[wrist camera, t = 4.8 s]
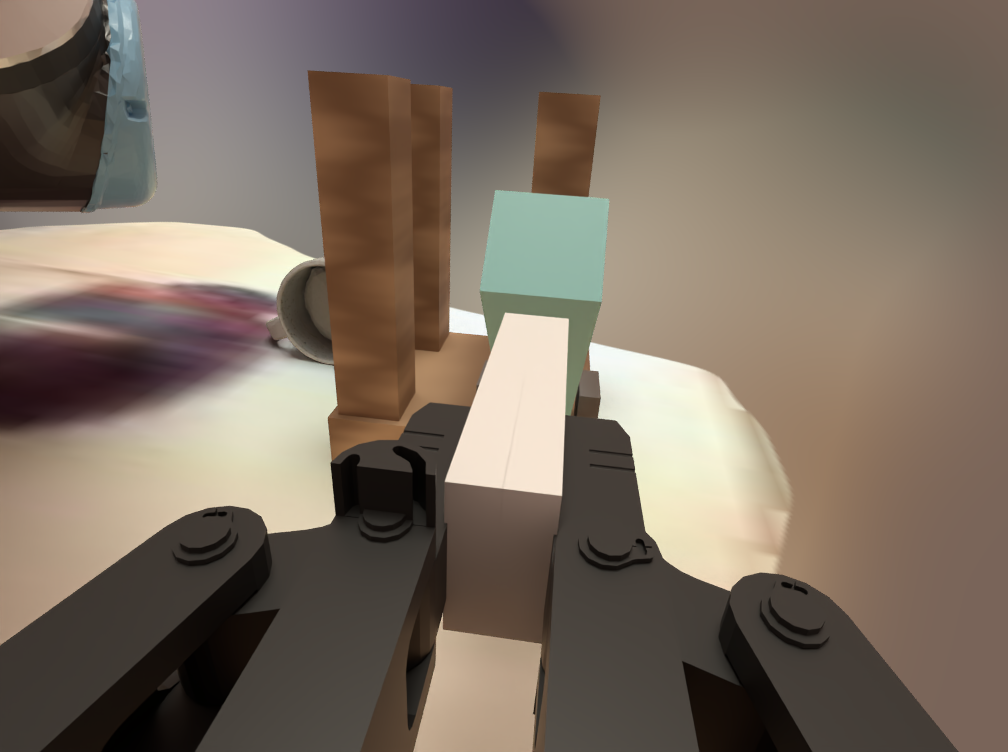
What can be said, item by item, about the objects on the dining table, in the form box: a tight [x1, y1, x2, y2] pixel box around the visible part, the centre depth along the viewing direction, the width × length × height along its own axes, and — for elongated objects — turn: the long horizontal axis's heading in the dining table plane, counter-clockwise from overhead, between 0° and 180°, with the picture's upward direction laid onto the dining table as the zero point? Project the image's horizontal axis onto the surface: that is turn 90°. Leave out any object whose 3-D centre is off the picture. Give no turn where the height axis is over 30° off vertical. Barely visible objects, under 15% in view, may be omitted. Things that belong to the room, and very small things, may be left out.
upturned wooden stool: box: [308, 71, 601, 461], centre depth 30 cm, size 14×13×18 cm
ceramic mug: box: [266, 257, 334, 365], centre depth 42 cm, size 11×8×8 cm
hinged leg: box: [480, 190, 609, 416], centre depth 22 cm, size 3×3×15 cm
